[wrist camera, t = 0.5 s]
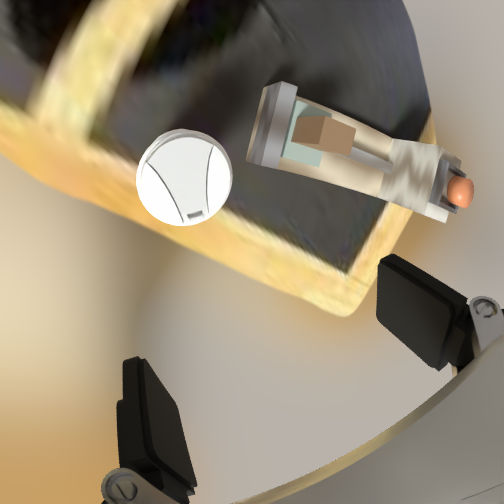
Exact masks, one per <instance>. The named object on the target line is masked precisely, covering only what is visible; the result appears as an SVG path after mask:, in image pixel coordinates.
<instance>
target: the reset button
mask: <svg viewBox="0 0 504 504" xmlns="http://www.w3.org/2000/svg"><path fill="white" fill-rule="evenodd" d="M473 194H474V185H473V182H472V181H471V180H470V179H466V178H463V177H460V176H456V175H455V176H453V177H452V178H451V179H450V181H449V183H448V187H447V198H448V201H449V202H450V203H452V204H455V205H458V206H460V207H463V208H467V207H468V206H469V205H470V204H471V201H472V199H473Z"/></svg>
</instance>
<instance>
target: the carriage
mask: <svg viewBox="0 0 504 504" xmlns="http://www.w3.org/2000/svg"><path fill="white" fill-rule="evenodd" d="M331 117H332V114H331V113H329V112H326V111H324V110H321V109H319V108H316V107H314V106H311V105H309V104H306V103H303V102H301V101H298V100H295V101H294V104H293V108H292V112H291V116H290V120H289V124H288V128H287V132H286V136H285V140H284V144H283V148H282V152H281V156H280V157H282V158H286V159H290V160H294V161H297V162H301V163H304V164H308V165H311V166H315V167H319V166H320V162H321V158H322V154H323V151H325V152H331V153H337V154H343V155H349V156H350V154H351V150H352V146H353V141H354V137H355V133H356V128H353V127H351V126H349V125H346V124H344V123H342V122H339V121H337V120H335V119H332V118H331Z"/></svg>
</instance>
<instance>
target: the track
mask: <svg viewBox="0 0 504 504" xmlns="http://www.w3.org/2000/svg"><path fill="white" fill-rule="evenodd" d="M297 88H298V87H297V86H294V85H291V84H289V83H286V82H283V81H281V82H278V83H275V84H272V85H269V86H267V87H264V88H263V92H262V96H261V100H260V104H259V108H258V112H257V116H256V120H255V124H254V128H253V132H252V136H251V140H250V144H249V148H248V152H247V156H246V160H245V161H247V162H251V163H254V164H258V165H261V166H266V167H270V168H274V169H281V170H285V171H289V172H293V173H297V174H300V175H304V176H308V177H312V178H315V179H319V180H322V181H326V182H329V183H333V184H336V185H340V186H343V187H346V188H350V189H353V190H356V191H359V192H363V193H366V194H369V195H372V196H375V197H378V198H381V199H384V200H386V201H389V202H392V203H394V204H397V205H400V206H402V207H405V208H408V209H410V210H413V211H416V212H418V213H420V214H423V215H425V216H428V217H431V218H433V219H436V220H439V221H441V222H444V223H446V220H447V216H448V213H449V212H452V213H455V214H456V213H457V209H458V205H455V204H452V203H450V202H449V201H448V198H447V187H448V183H449V181H450V179H451V178H452V177H453V176H455V175H456V176H460V177H463V178H466V174H465V173H463V172H462V171H461V170H460V165H461V160H459V159H458V158H457V157H455V156H454V155H453V154H451V153H450V152H449V151H447V150H446V149H445V148H443V147H442V146H438V145H433V144H427V143H421V142H414V141H407V140H400V139H392V138H390V137H389V136H387V135H385V134H383V133H381V132H379V131H377V130H375V129H373V128H371V127H369V126H367V125H365V124H363V123H361V122H358V121H356V120H354V119H352V118H350V117H348V116H345V115H343V114H341V113H339V112H336V111H334V110H332V109H329V108H327V107H324V106H322V105H319V104H317V103H314V102H312V101H309V100H307V99H304V98H301V97H299V96H296V92H297ZM295 100H298V101H301V102H303V103H306V104H309V105H311V106H314V107H316V108H319V109H321V110H324V111H326V112H329V113H331V114H332V117H331V118H332V119H335V120H337V121H339V122H342V123H344V124H346V125H349V126H351V127H353V128H356V133H355V137H354V141H353V146H352V150H351V154H350V156H349V155H343V154H337V153H331V152H325V151H323V154H322V158H321V162H320V166H319V167H315V166H311V165H308V164H304V163H301V162H297V161H294V160H290V159H286V158H282V157H280V156H281V152H282V148H283V144H284V140H285V136H286V132H287V128H288V124H289V120H290V116H291V112H292V108H293V104H294V101H295Z"/></svg>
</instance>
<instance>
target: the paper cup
mask: <svg viewBox="0 0 504 504" xmlns="http://www.w3.org/2000/svg"><path fill="white" fill-rule="evenodd" d="M136 184H137V190H138V194H139V197H140V199H141V201H142V203H143V205H144V206H145V208H146V209H147V210H148V211H149V212H150V213H151V214H152V215H153V216H154V217H156V218H157V219H159V220H160V221H163V222H165V223H168V224H172V225H178V226H187V225H193V224H197V223H200V222H202V221H204V220H206V219H208V218H210V217H211V216H212V215H214V214H215V213H216V212H217V211H218V210H219V209H220V208H221V207H222V205H223V204H224V203H225V201H226V199H227V197H228V195H229V192H230V189H231V185H232V166H231V163H230V159H229V157H228V155H227V153H226V151H225V150H224V148H223V147H222V146H221V145H220V144H219V143H218V142H217V141H216V140H215V139H213V138H212V137H210V136H208V135H206V134H204V133H201V132H198V131H192V130H187V129H176V130H172V131H169V132H166V133H164V134H163V135H161V136H159V137H158V138H157V139H156V140H155V141H154V143H153V144H152V145H151V146H150V147H149V148H148V149H147V150H146V152H145V153H144V155H143V156H142V158H141V160H140V163H139V166H138V169H137V176H136Z"/></svg>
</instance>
